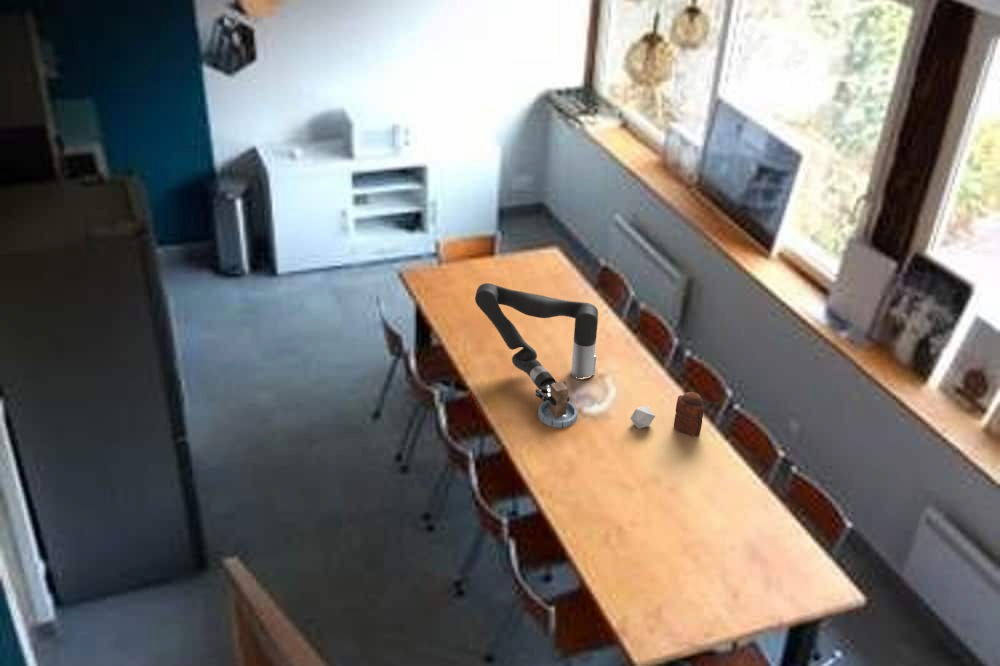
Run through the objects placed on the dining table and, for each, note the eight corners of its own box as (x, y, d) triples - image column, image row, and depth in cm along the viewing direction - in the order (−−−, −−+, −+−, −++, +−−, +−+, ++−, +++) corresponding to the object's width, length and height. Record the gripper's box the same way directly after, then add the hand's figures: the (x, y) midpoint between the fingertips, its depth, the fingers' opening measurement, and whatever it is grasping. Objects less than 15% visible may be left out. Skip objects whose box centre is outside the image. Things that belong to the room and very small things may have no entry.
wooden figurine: (703, 430, 414) (710, 394, 404) (698, 439, 409) (704, 402, 399) (676, 420, 418) (681, 384, 408) (670, 429, 414) (675, 393, 404)
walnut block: (560, 407, 421) (562, 381, 414) (566, 414, 418) (568, 388, 410) (549, 410, 419) (551, 384, 412) (555, 417, 416) (557, 391, 408)
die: (645, 417, 421) (632, 400, 417) (662, 417, 414) (649, 400, 410) (636, 433, 417) (622, 416, 413) (652, 433, 410) (639, 417, 406)
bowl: (565, 399, 428) (565, 394, 427) (583, 421, 417) (584, 416, 415) (531, 409, 422) (531, 404, 421) (549, 431, 411) (549, 426, 409)
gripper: (527, 375, 421) (546, 399, 408) (558, 367, 426) (578, 390, 413) (526, 390, 425) (545, 414, 412) (557, 382, 430) (577, 405, 417)
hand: (561, 402), depth 413 cm, fingers closed on walnut block, 5 cm apart
